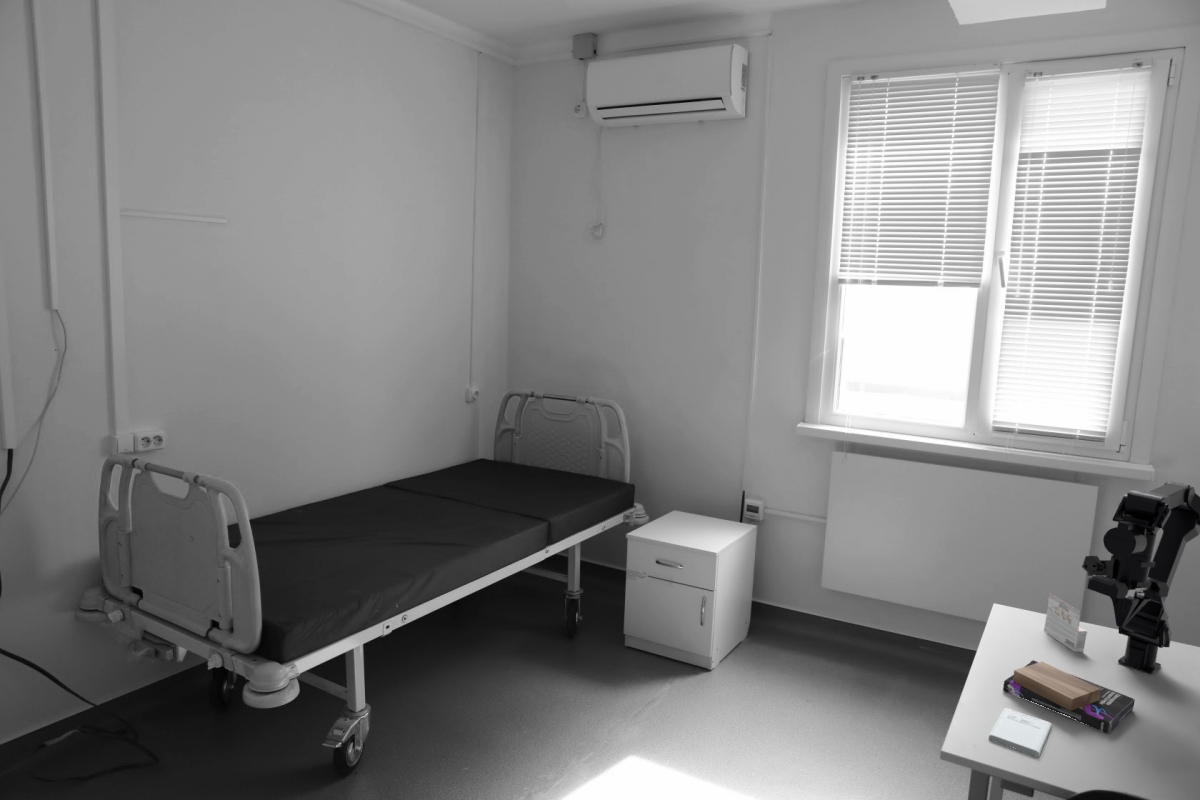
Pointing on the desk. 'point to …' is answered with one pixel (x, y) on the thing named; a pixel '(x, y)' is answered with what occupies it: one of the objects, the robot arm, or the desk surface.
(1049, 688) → the walnut board
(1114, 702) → the box
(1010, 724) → the external hard drive
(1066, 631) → the ink cartridge box
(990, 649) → the desk surface
